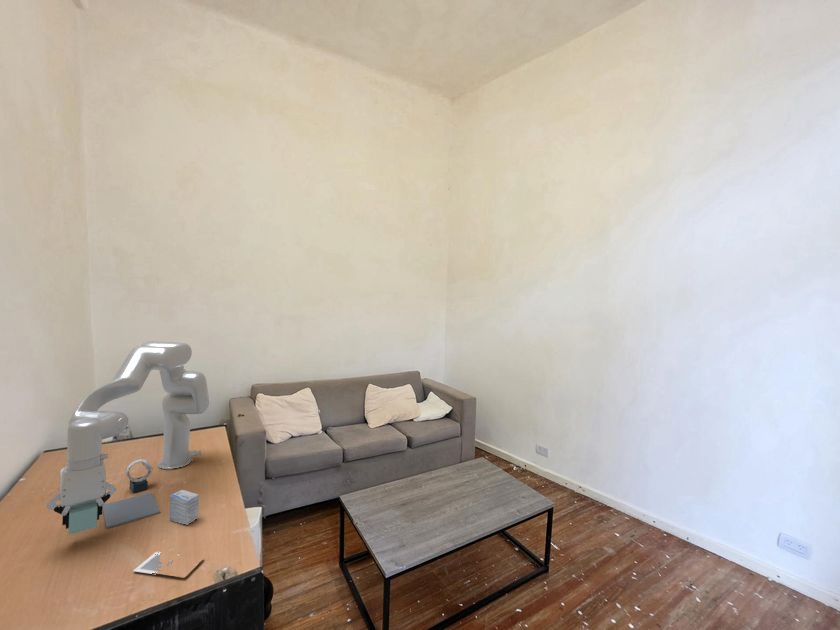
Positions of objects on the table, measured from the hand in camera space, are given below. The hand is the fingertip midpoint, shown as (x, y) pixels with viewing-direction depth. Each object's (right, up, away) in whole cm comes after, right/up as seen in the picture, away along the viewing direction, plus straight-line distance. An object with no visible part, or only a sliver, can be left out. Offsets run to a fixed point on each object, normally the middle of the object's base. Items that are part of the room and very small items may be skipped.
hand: (82, 521), depth 109 cm
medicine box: (+21, -8, +14) cm, 26 cm away
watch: (-7, -5, +31) cm, 32 cm away
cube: (0, -1, 0) cm, 1 cm away
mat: (0, -6, +18) cm, 19 cm away
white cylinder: (-31, -4, +30) cm, 43 cm away
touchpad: (+30, -9, -7) cm, 33 cm away
